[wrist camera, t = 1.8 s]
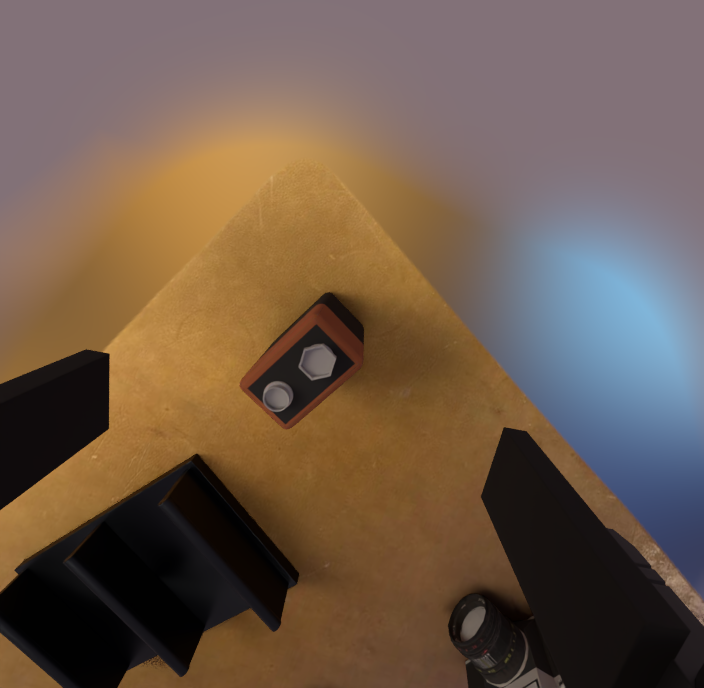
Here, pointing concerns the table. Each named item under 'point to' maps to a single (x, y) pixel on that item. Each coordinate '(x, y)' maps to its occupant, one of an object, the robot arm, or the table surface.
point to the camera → (501, 647)
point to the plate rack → (144, 581)
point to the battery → (307, 362)
